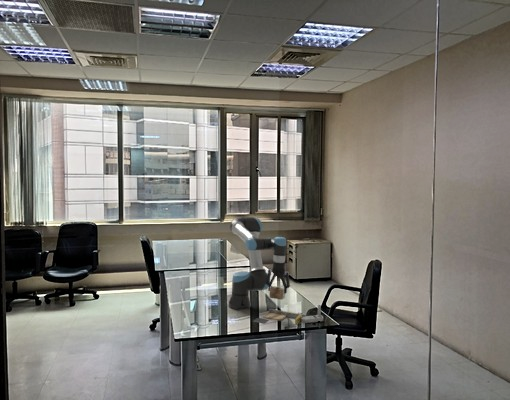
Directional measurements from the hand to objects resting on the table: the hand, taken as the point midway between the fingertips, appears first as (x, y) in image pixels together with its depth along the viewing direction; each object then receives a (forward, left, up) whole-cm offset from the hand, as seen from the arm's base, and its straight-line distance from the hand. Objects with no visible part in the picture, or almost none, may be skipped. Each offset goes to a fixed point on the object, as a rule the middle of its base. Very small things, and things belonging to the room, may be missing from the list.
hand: (277, 297), depth 255 cm
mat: (-6, -10, -14) cm, 18 cm away
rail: (+4, +1, -14) cm, 14 cm away
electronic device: (+21, +8, -14) cm, 27 cm away
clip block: (0, 0, 0) cm, 0 cm away
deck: (+3, +1, -14) cm, 14 cm away
